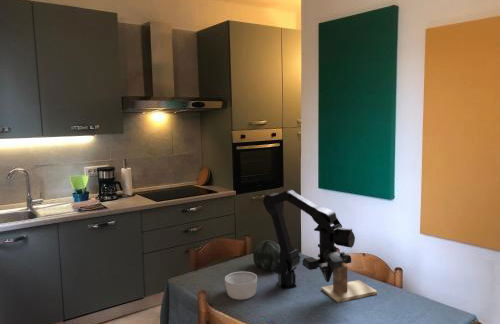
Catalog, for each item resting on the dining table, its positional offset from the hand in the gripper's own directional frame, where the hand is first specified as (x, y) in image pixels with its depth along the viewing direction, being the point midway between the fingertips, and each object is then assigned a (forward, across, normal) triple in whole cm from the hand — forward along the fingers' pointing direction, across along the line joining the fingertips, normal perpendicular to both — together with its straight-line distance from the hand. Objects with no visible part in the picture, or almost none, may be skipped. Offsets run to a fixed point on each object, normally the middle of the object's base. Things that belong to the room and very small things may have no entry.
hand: (327, 281), depth 157 cm
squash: (+6, -9, +37) cm, 39 cm away
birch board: (+6, +10, 0) cm, 11 cm away
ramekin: (+6, -30, +16) cm, 35 cm away
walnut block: (+5, +6, 0) cm, 8 cm away
